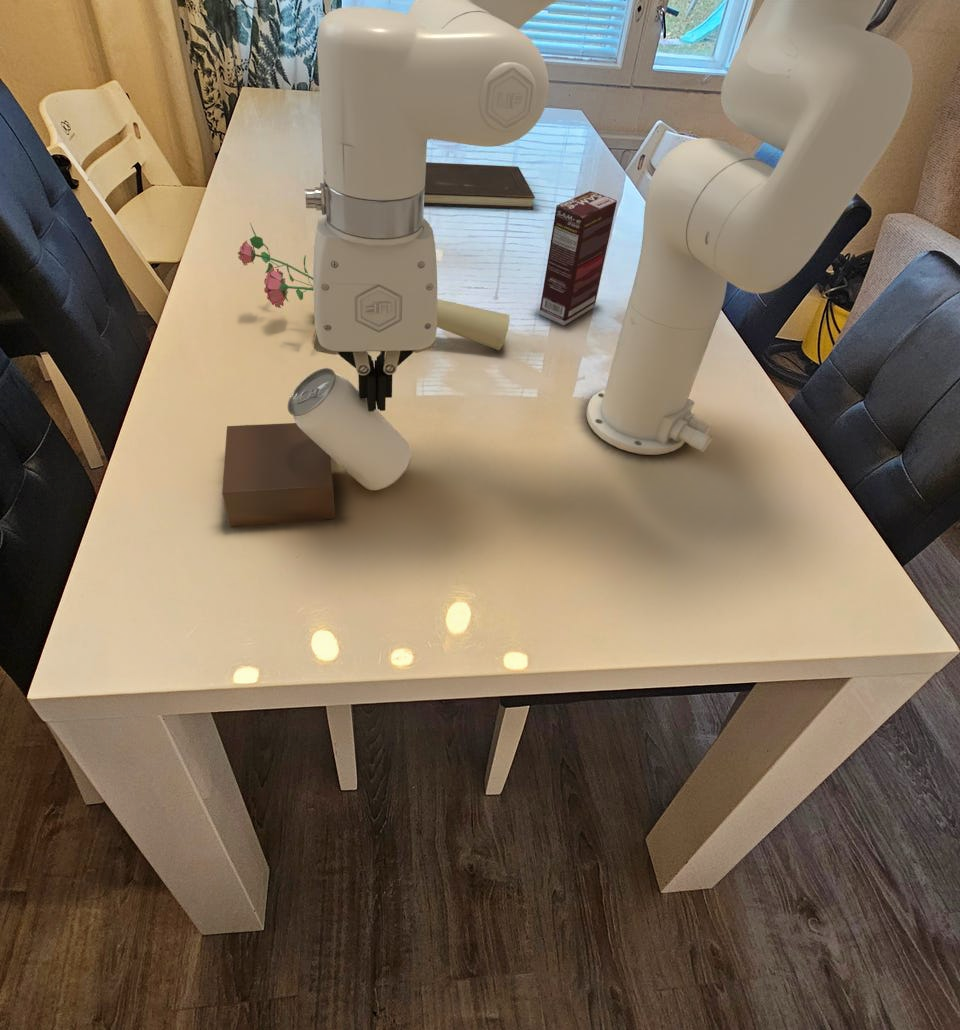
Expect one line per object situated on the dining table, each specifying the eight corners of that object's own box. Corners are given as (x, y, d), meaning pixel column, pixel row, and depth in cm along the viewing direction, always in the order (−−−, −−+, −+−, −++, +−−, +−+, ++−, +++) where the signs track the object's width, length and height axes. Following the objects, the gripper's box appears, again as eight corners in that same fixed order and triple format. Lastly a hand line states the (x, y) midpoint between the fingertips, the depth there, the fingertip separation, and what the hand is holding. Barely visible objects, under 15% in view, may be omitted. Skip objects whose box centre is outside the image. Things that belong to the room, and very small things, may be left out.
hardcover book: (533, 209, 131) (535, 196, 129) (409, 205, 127) (409, 192, 125) (516, 177, 142) (517, 165, 140) (402, 172, 138) (402, 160, 136)
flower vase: (479, 405, 98) (221, 336, 90) (487, 339, 104) (245, 268, 96) (508, 352, 88) (220, 269, 80) (514, 282, 94) (247, 198, 86)
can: (405, 486, 70) (326, 409, 62) (356, 497, 73) (274, 425, 65) (419, 436, 73) (346, 356, 65) (372, 448, 76) (296, 374, 68)
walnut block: (329, 454, 77) (327, 421, 73) (335, 519, 70) (332, 485, 67) (233, 459, 75) (226, 425, 71) (229, 526, 68) (221, 492, 65)
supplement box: (569, 295, 108) (590, 189, 97) (595, 307, 106) (620, 200, 95) (536, 314, 103) (554, 204, 92) (563, 327, 101) (585, 216, 90)
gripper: (274, 225, 50) (295, 430, 63) (479, 229, 53) (459, 423, 66) (274, 185, 55) (293, 382, 68) (461, 190, 58) (445, 377, 71)
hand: (375, 402), depth 67 cm, fingers closed
